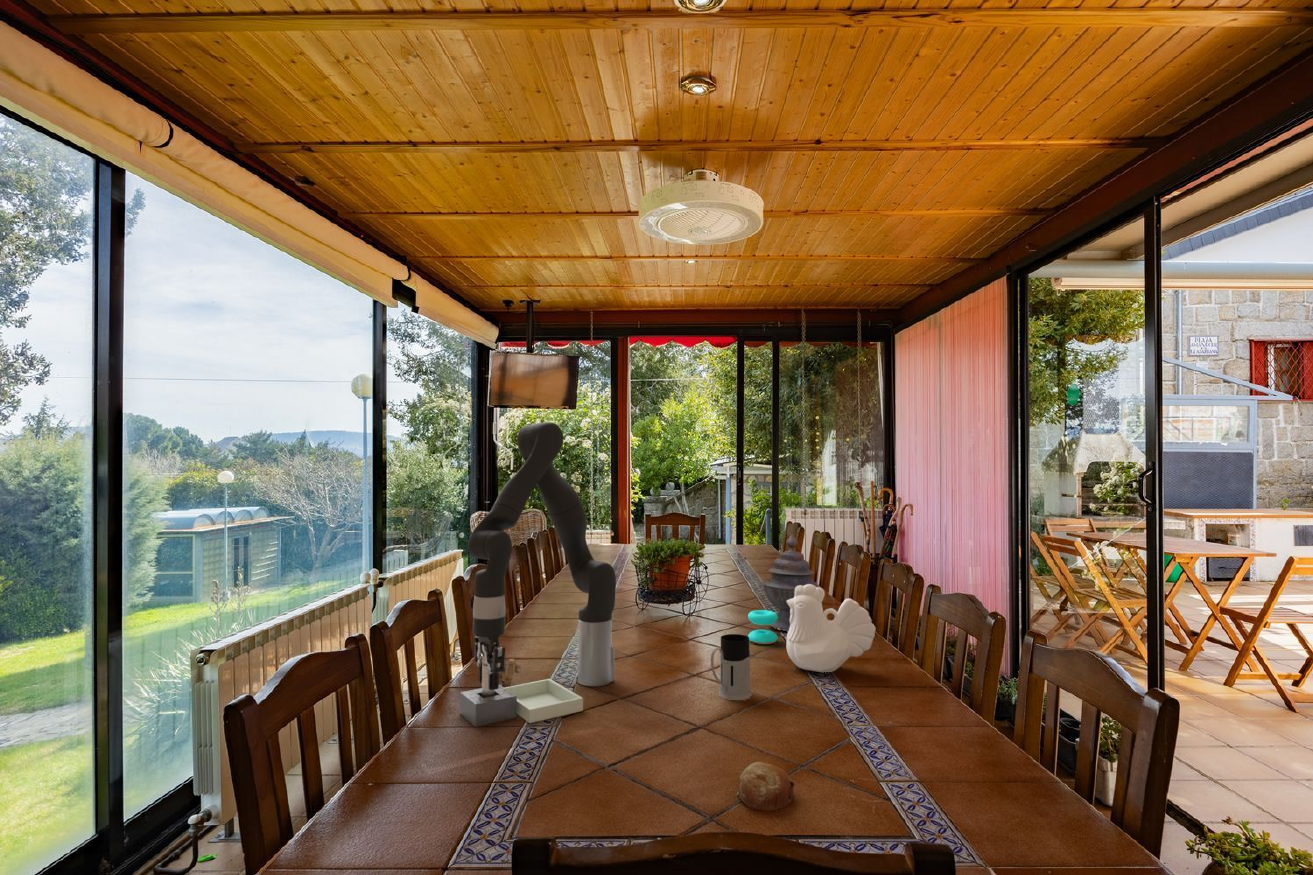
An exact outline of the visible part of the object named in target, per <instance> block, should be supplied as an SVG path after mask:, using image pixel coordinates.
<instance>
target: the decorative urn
mask: <svg viewBox="0 0 1313 875" xmlns="http://www.w3.org/2000/svg"><path fill="white" fill-rule="evenodd" d="M785 543H786V546H787V547H789V548H788V549H789V550H784V551H783V552H781V553H780V554H779V557H778V558H776V559H775V560H773V567H771V568H769V569H768V570H767V571H768V572H769V573H771V578H767V579H765V580H763V582H762V584H763V589H764V592H765V594H766V595H765V596H766V597H767V598H768V600H769V602H770V603H771V604H772V606H774V607H776V608H777V609H778V610H779V611H778V613H777V616H778V619H777V621H776V622H775V623H773V624H770V625H771V626H772V627H774V628H780V629H786V630H789V628H790V625H791V624H790V609H791V608H790V607H789V605H788V604H787V602H786V601H787V600H789V599H792V598H794V596H795V588H796V587H797V586H799V585H802V586H804V585H807V584H812V585H814V586H816V587H820V585H819V584H818V583H817V582H815V581H812V576H813V575H814V574H815V572H814V570H811V569H810V567H811V566H810V563H809V561H808V560H806V559H805V558H804V554H803V553H802V552H799V551H796V550H795V548H797V546H798V545H799V542H798V540H797V538H796V536H795V535H794V534H793V533H791V534H790V535H789V538H786V541H785Z"/></svg>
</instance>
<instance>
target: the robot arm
mask: <svg viewBox="0 0 1313 875" xmlns="http://www.w3.org/2000/svg"><path fill="white" fill-rule="evenodd" d="M516 436H517V437H516V439H517V440H516V442H517V447H518V451H519V453H520V454H521V457H522V458H523V461H524V464H523V465H522V466H520V468H519V470H518V471H517V472H516V473H514V475H513V476H512V477H511V478H510V479H508V481H507V482H506V483H505V484H504V486H503V487H502V489H501V490H500V492H499V494H498V496H497V498H496V500H495V501H494V503H493V505H492V507H491V510H490V511H489V512H488V513H487V514H486V515H485V516H484V517H483V518H482V520H480V522H479V523H478V524H477V525H476V527H475V528H474V529H473V531H472V532H471V533H470V536H469V537H468V538H469V539H468V543H467V544H468V545H467V547H468V552H469V554H470V556H472V557H473V558H475V559H477V560H488V562H487V566H486V567H485V568H484V569H480V570H478V571H476V573H475V576H474V581H473V582H474V585H473V586H474V589H473V590H474V597H473V605H472V635H473V636H474V637H473V649H474V650H473V653H474V654H473V656H474V662H475V663H476V665H477V667H478V682H479V684H482V656H484V657H485V663H486V664H487V665H488V670H489V689H490V690H495V689H498V688H499V673H500V672H503V671H504V661H505V660H506V659H505V658H506V647H505V646H501V644H500V639H499V638H500V636H503V635H504V634H505V633H506V598H505V583H506V582H505V579H506V574H507V571H508V567H509V563H510V559H511V556H512V552H513V543H512V539H511V536H510V535H509V534H508V533H507V532H506V531H505V530H507V529H512V528H513V527H515V526H516V525H517V523H518V522H519V519H520V518H521V515H522V513H523V511H524V509H525V507H526V504H527V503H528V501H529V499H530V496H531V495H532V493H533V491H534V490H535V489H536V487H537V488H538V490H539V492H540V496H542V497H541V498H542V499H543V501H544V504H545V507H546V509H547V513H548V514H549V517H550V520H551V522H552V525H553V526H554V529H555V531H556V533H557V535H558V538H559V541H560V544H561V547H562V549H563V551H564V554H565V558H566V560H567V564H568V567H569V571H570V574H571V578H572V581H573V583H574V585H575V587H576V588H577V589H578V590H579V591H581V592H582V593H585V594H588V595H587V596H588V598H587V599H588V600H587V604H586V605H585V606H582V607H581V608H580V609H579V610H578V645H577V646H578V652H577V653H578V654H577V655H578V656H577V658H578V660H577V661H578V662H577V668H578V669H577V683H578V684H580V685H582V686H585V687H602V686H606V685H609V684H610V683H611V682H614V681H615V661H616V660H615V656H616V655H615V652H616V651H615V648H616V647H615V646H614V645H612V642H613V638H612V635H613V632H612V631H613V630H612V629H613V626H612V624H613V620H612V619H613V612H614V609H615V606H616V589H617V576H616V572H615V569H614V567H613V566H612V565H611V563H610V564H609V563H608V562H605V561H600V560H595V559H594V557H593V555H592V553H591V552H590V548H589V547H588V543H587V539H586V538H587V537H586V535H587V521H588V520H587V514H586V511H585V508H584V506H583V503H582V500H581V499H580V495H579V494H578V493H577V491H576V490H575V488H574V487H572V485H571V484H570V483H569V482H568V481H567V480H566V479H564V477H563V476H561V474H560V473H559V472H558V471H557V469H556V468H555V467H554V464H553V462H554V461H555V459H556V458H557V456H558V455H559V453H560V452H561V450H562V447H563V445H564V433H563V431H562V429H561V427H560V426H559V425H558V424H557V423H555V422H552V421H546V422H544V421H543V422H537V423H533V424H527V425H524V426H521V428H520V429H519V430H518V432H517V435H516ZM492 658H493V660H490V659H492Z"/></svg>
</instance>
